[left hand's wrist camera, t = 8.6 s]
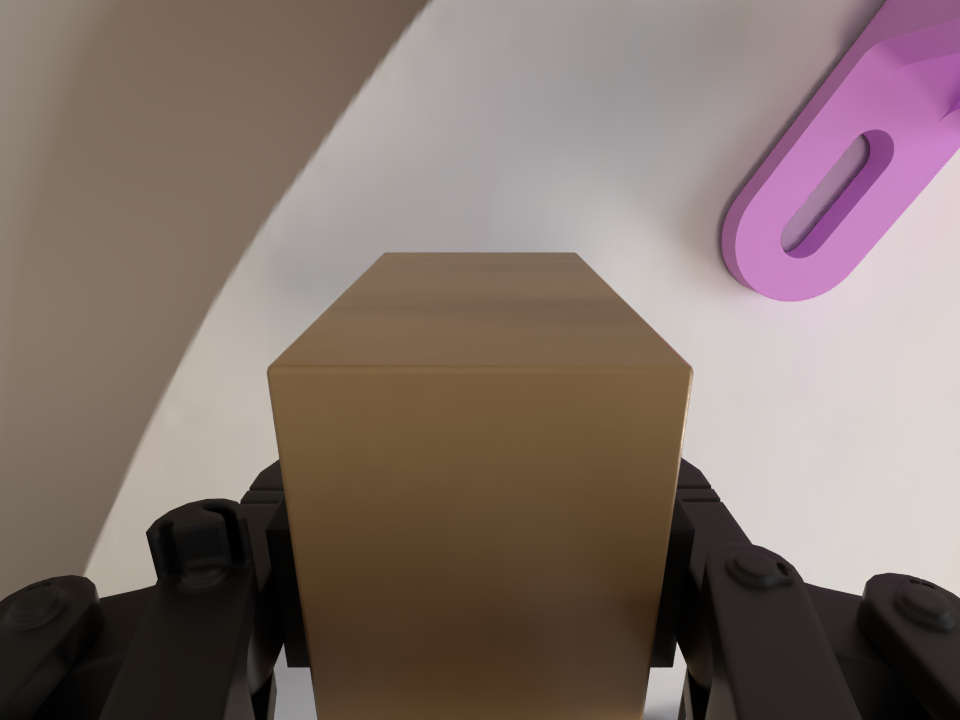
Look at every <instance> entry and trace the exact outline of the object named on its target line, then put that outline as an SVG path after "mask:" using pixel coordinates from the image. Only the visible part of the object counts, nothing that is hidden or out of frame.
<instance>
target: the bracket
mask: <svg viewBox="0 0 960 720" xmlns="http://www.w3.org/2000/svg"><path fill="white" fill-rule="evenodd" d="M860 134H863V135H865V136H866V138H867V139H868V141H869V143H870V156H869V159H868V161H867V163H866V165H865V166H864V168H863V169H862V170H861V171H860V172H859V174H858V175H857V176H856V177H855V179H854V180H853V181H852V182H851V183H850V185H849V186H848V187H847V188H846V189H845V191H844V192H843V193H842V194H841V196H840V197H839V198H838V199H837V200H836V202H835V203H834V204H833V205H832V206H831V208H830V209H829V210H828V211H827V213H826V214H825V215H824V216H823V217H822V219H821V220H820V221H819V222H818V223H817V225H816V226H815V227H814V228H813V230H812V231H811V232H810V233H809V234H808V236H807V237H806V238H805V239H804V240H803V242H802V243H801V244H800V245H799V246H798V247H797V248H795V249H794V250H792V251H790V252H786V253H785V252H784V250H783V249H782V246H781V234H782V231H783V229H784V227H785V226H786V224H787V223H788V222H789V220H790V219H791V218H792V217H793V215H794V214H795V213H796V212H797V210H798V209H799V208H800V207H801V205H802V204H803V203H804V202H805V200H806V199H807V198H808V197H809V196H810V194H811V193H812V192H813V191H814V189H815V188H816V187H817V186H818V184H819V183H820V182H821V181H822V179H823V178H824V177H825V176H826V174H827V173H828V172H829V171H830V169H831V168H832V167H833V166H834V164H835V163H836V162H837V161H838V159H839V158H840V157H841V156H842V154H843V153H844V152H845V151H846V150H847V148H848V147H849V146H850V145H851V143H852V142H853V141H854V140H855V139H856V138H857V137H858V136H859V135H860ZM959 148H960V0H887V1H886V2H885V3H884V5H883V6H882V7H881V9H880V10H879V11H878V12H877V14H876V15H875V16H874V18H873V19H872V20H871V22H870V23H869V24H868V26H867V27H866V28H865V30H864V31H863V32H862V33H861V35H860V36H859V37H858V39H857V40H856V41H855V43H854V44H853V45H852V47H851V48H850V49H849V51H848V52H847V53H846V55H845V56H844V57H843V58H842V60H841V61H840V62H839V64H838V65H837V66H836V68H835V69H834V70H833V72H832V73H831V74H830V76H829V77H828V78H827V79H826V81H825V82H824V83H823V85H822V86H821V87H820V89H819V90H818V91H817V93H816V94H815V95H814V97H813V98H812V99H811V101H810V102H809V103H808V104H807V106H806V107H805V108H804V110H803V111H802V112H801V114H800V115H799V116H798V118H797V119H796V120H795V122H794V123H793V124H792V125H791V127H790V128H789V129H788V131H787V132H786V133H785V135H784V136H783V137H782V139H781V140H780V141H779V143H778V144H777V145H776V146H775V148H774V149H773V150H772V152H771V153H770V154H769V156H768V157H767V158H766V160H765V161H764V162H763V164H762V165H761V166H760V168H759V169H758V170H757V171H756V173H755V174H754V175H753V177H752V178H751V179H750V181H749V182H748V183H747V185H746V186H745V187H744V189H743V190H742V191H741V192H740V194H739V195H738V196H737V198H736V199H735V201H734V202H733V204H732V206H731V207H730V209H729V211H728V214H727V216H726V219H725V222H724V225H723V230H722V242H721V245H722V253H723V257H724V260H725V263H726V265H727V267H728V269H729V271H730V272H731V274H732V275H733V276H734V277H735V278H736V279H737V280H738V281H739V282H740V283H741V284H743V285H744V286H745V287H747V288H749V289H751V290H753V291H755V292H758V293H760V294H762V295H764V296H766V297H769V298H771V299H775V300H779V301H801V300H807V299H810V298H814V297H816V296H819V295H821V294H823V293H825V292H827V291H829V290H830V289H832V288H834V287H835V286H836V285H838V284H839V283H840V282H842V281H843V280H844V279H845V278H846V277H847V276H848V275H849V274H850V273H851V272H852V271H853V270H854V268H855V267H856V266H857V265H858V264H859V263H860V262H861V260H862V259H863V258H864V257H865V256H866V255H867V254H868V252H869V251H870V250H871V249H872V248H873V247H874V245H875V244H876V243H877V242H878V241H879V240H880V239H881V237H882V236H883V235H884V234H885V233H886V232H887V231H888V229H889V228H890V227H891V226H892V225H893V224H894V223H895V221H896V220H897V219H898V218H899V217H900V216H901V214H902V213H903V212H904V211H905V210H906V209H907V208H908V206H909V205H910V204H911V203H912V202H913V201H914V200H915V198H916V197H917V196H918V195H919V194H920V193H921V191H922V190H923V189H924V188H925V187H926V186H927V185H928V183H929V182H930V181H931V180H932V179H933V178H934V177H935V175H936V174H937V173H938V172H939V171H940V170H941V169H942V167H943V166H944V165H945V164H946V163H947V162H948V160H949V159H950V158H951V157H952V156H953V155H954V154H955V152H956V151H957V150H958V149H959Z"/></svg>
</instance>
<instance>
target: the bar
mask: <svg viewBox="0 0 960 720" xmlns="http://www.w3.org/2000/svg"><path fill="white" fill-rule="evenodd" d="M267 377H268V384H269V391H270V398H271V404H272V411H273V418H274V425H275V432H276V439H277V445H278V452H279V459H280V466H281V473H282V480H283V487H284V493H285V500H286V507H287V514H288V521H289V528H290V534H291V541H292V548H293V555H294V562H295V569H296V575H297V582H298V589H299V596H300V603H301V610H302V616H303V623H304V630H305V637H306V644H307V651H308V658H309V664H310V671H311V678H312V685H313V692H314V699H315V705H316V712H317V719H318V720H643V714H644V707H645V700H646V693H647V686H648V680H649V673H650V666H651V659H652V652H653V645H654V639H655V632H656V625H657V618H658V611H659V604H660V598H661V591H662V584H663V577H664V570H665V564H666V557H667V550H668V543H669V536H670V529H671V523H672V516H673V509H674V502H675V495H676V488H677V482H678V475H679V468H680V461H681V454H682V447H683V441H684V434H685V427H686V420H687V413H688V407H689V400H690V393H691V386H692V379H693V369H692V367H691V366H690V365H689V364H688V363H687V362H686V361H685V360H684V359H683V358H682V357H681V356H680V355H679V354H678V353H677V352H676V351H675V350H674V349H673V348H672V347H671V346H670V345H669V344H668V343H667V342H666V341H665V340H664V339H663V338H662V337H661V336H660V335H659V334H658V333H657V332H656V331H655V330H654V329H653V328H652V327H651V326H650V325H649V324H648V323H647V322H646V321H645V320H644V319H642V318H641V317H640V316H639V315H638V314H637V313H636V312H635V311H634V310H633V309H632V308H631V307H630V306H629V305H628V304H627V303H626V302H625V301H624V300H623V299H622V298H621V297H620V296H619V295H618V294H617V293H616V292H615V291H614V290H613V289H612V288H611V287H610V286H609V285H608V284H607V283H606V282H605V281H604V280H603V279H602V278H601V277H600V276H599V275H598V274H597V273H596V272H595V271H594V270H593V269H592V268H591V267H590V266H589V265H588V264H587V263H586V262H585V261H584V260H583V259H582V258H581V257H580V256H579V255H577V254H576V253H384V254H383V255H382V256H381V257H380V258H379V259H378V260H377V261H376V262H375V263H374V264H373V265H372V266H371V267H370V268H369V269H368V270H367V271H366V272H365V273H364V274H363V275H362V276H361V277H360V278H359V279H358V280H357V281H356V282H355V283H354V284H353V285H351V286H350V287H349V288H348V289H347V290H346V291H345V292H344V293H343V294H342V295H341V296H340V297H339V298H338V299H337V300H336V301H335V302H334V303H333V304H332V305H331V306H330V307H329V308H328V309H327V310H326V311H325V312H324V313H323V314H322V315H321V316H320V317H319V318H318V319H317V320H316V321H315V322H314V323H313V324H312V325H311V326H310V327H309V328H308V329H307V330H306V331H305V332H304V333H303V334H302V335H301V336H299V337H298V338H297V339H296V340H295V341H294V342H293V343H292V344H291V345H290V346H289V347H288V348H287V349H286V350H285V351H284V352H283V353H282V354H281V355H280V356H279V357H278V358H277V359H276V360H275V361H274V362H273V363H272V364H271V365H270V366H269V367H268V370H267Z"/></svg>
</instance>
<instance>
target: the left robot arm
mask: <svg viewBox="0 0 960 720" xmlns="http://www.w3.org/2000/svg"><path fill="white" fill-rule="evenodd" d="M146 535H147V539H148V543H149V547H150V551H151V555H152V558H153V562H154V566H155V570H156V574H157V578H158V580H157V582H156V585H154V586H150V587H147V588H144V589H140V590H135V591H131V592H126V593H122V594H117V595H113V596H108V597H104V598H99V596H98V593H97V590H96V587H95V584H94V583H92V582H91V581H90V580H89V579H88V578H87V577H81V576H74V575H69V576H61V577H53V578H49V579H46V580H43V581H40V582H36V583H34V584H31V585H29V586H27V587H25V588H23V589H21V590H19V591H17V592H15V593H13V594H11V595H9V596H7V597H6V598H5V599H3V600H2V601H1V602H0V720H274V712H275V703H276V694H277V688H276V681H275V674H274V669H273V668H274V666H275V663H276V661H277V658H278V656H279V653H280V651H281V648H282V646H283V643H284V647H285V653H286V659H287V666H288V667H310V664H309V658H308V651H307V644H306V637H305V630H304V623H303V616H302V610H301V603H300V596H299V589H298V582H297V575H296V569H295V562H294V555H293V548H292V541H291V534H290V528H289V521H288V514H287V507H286V500H285V493H284V487H283V480H282V473H281V466H280V459H279V460H277V461H276V462H275V463H273V464H272V465H270V466H269V467H267V468H266V469H264V470H263V471H262V472H260V474H259V475H258V476H257V478H256V479H255V481H254V482H253V484H252V485H251V486H250V490H249V491H247V492H246V494H245V495H244V496H243V498H242V499H241V503H240V504H239V503H238V502H236V501H232V500H228V499H205V500H200V501H196V502H191V503H188V504H185V505H183V506H180V507H178V508H176V509H173V510H171V511H169V512H168V513H166V514H165V515H163V516H162V517H160V518H159V519H157V520H156V521H155V522H154V523H153V524H152V525H151V527H150V528H149V529H148V530H147V532H146ZM677 642H678V645H679V647H680V649H681V652H682V654H683V657H684V659H685V662H686V664H687V669H686V674H685V680H684V686H683V691H682V697H681V703H680V708H679V714H678V720H960V598H959V597H957V596H956V595H955V594H953V593H951V592H949V591H947V590H945V589H943V588H941V587H939V586H937V585H935V584H934V583H931V582H929V581H926V580H923V579H919V578H917V577H913V576H910V575H903V574H895V573H885V574H879V575H874V576H873V577H872V578H871V579H870V580H868V581H867V582H866V585H865V588H864V592H863V595H862V596H858V595H854V594H849V593H845V592H840V591H836V590H831V589H827V588H822V587H818V586H815V585H811V584H808V583H804V581H803V579H802V577H801V576H800V575H799V573H798V572H797V570H796V569H795V568H794V566H793V565H791V564H790V563H789V562H788V561H786V560H785V559H784V558H782V557H781V556H780V555H778V554H776V553H774V552H772V551H770V550H768V549H765V548H763V547H761V546H757V545H753V544H752V543H751V542H750V540H749V539H748V537H747V536H746V535H745V533H744V532H743V530H742V529H741V528H740V526H739V525H738V523H737V522H736V520H735V519H734V518H733V516H732V515H731V513H730V512H729V511H728V509H727V508H726V506H725V505H724V503H723V502H720V498H719V496H718V495H717V494H716V492H715V491H714V489H711V485H710V484H709V482H708V481H707V479H706V478H705V477H704V475H703V474H702V472H701V471H700V470H699V469H697V468H696V467H694V466H693V465H691V464H690V463H689V462H687V461H686V460H684V459H683V458H681V461H680V468H679V475H678V482H677V488H676V495H675V502H674V509H673V516H672V523H671V529H670V536H669V543H668V550H667V557H666V564H665V570H664V577H663V584H662V591H661V598H660V604H659V611H658V618H657V625H656V632H655V639H654V645H653V652H652V659H651V666H650V667H673V662H674V656H675V650H676V644H677Z"/></svg>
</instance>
